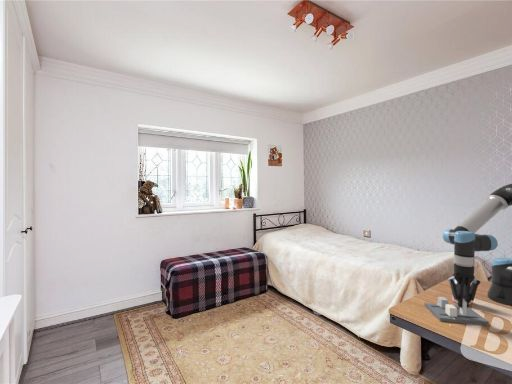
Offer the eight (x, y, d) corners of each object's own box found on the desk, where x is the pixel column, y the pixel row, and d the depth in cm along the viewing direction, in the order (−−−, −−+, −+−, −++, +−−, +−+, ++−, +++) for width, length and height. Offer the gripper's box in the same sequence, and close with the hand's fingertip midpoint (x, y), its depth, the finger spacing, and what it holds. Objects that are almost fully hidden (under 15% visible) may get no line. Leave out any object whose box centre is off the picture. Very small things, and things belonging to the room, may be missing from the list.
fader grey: (443, 304, 137) (444, 297, 136) (448, 308, 133) (448, 300, 133) (437, 304, 137) (437, 296, 137) (441, 307, 133) (441, 299, 133)
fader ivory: (452, 312, 128) (452, 304, 128) (456, 316, 124) (457, 308, 124) (445, 312, 128) (445, 304, 128) (449, 316, 124) (449, 307, 124)
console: (467, 308, 136) (467, 305, 136) (489, 325, 120) (489, 321, 120) (424, 305, 140) (424, 302, 140) (440, 321, 124) (440, 317, 124)
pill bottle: (474, 306, 139) (475, 279, 139) (457, 305, 141) (457, 278, 140) (465, 300, 147) (466, 274, 147) (449, 298, 148) (449, 273, 148)
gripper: (474, 262, 127) (473, 311, 128) (444, 261, 130) (443, 309, 130) (485, 267, 120) (484, 319, 120) (452, 266, 122) (451, 316, 123)
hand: (463, 314), depth 125 cm, fingers closed
